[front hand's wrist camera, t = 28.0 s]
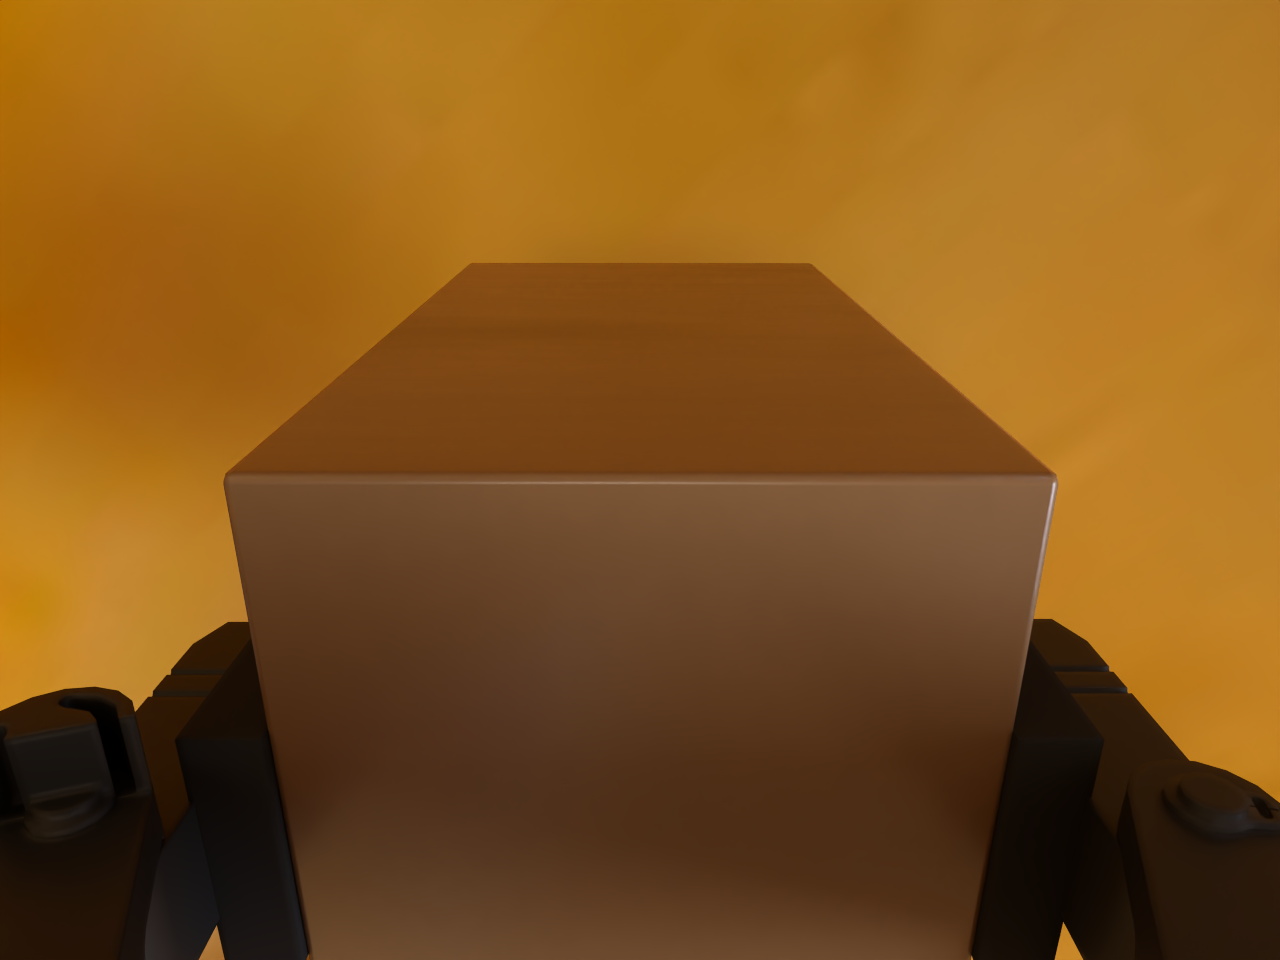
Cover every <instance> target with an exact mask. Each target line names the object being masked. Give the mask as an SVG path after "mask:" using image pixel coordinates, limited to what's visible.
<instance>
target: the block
mask: <svg viewBox="0 0 1280 960" xmlns="http://www.w3.org/2000/svg"><path fill="white" fill-rule="evenodd" d="M1057 488H1058V480H1057V476H1056V474H1055V473H1054V472H1053V471H1051V470H1050V469H1049V468H1048V467H1047V466H1046V465H1044V464H1043V463H1042V462H1041V461H1040V460H1039V459H1037V458H1036V457H1035V456H1034V455H1033V454H1032V453H1030V452H1029V451H1028V450H1027V449H1026V448H1025V447H1024V446H1022V445H1021V444H1020V443H1019V442H1018V441H1017V440H1015V439H1014V438H1013V437H1012V436H1011V435H1010V434H1008V433H1007V432H1006V431H1005V430H1004V429H1003V428H1001V427H1000V426H999V425H998V424H997V423H996V422H994V421H993V420H992V419H991V418H990V417H989V416H987V415H986V414H985V413H984V412H983V411H982V410H981V409H979V408H978V407H977V406H976V405H975V404H974V403H972V402H971V401H970V400H969V399H968V398H967V397H965V396H964V395H963V394H962V393H961V392H960V391H958V390H957V389H956V388H955V387H954V386H953V385H951V384H950V383H949V382H948V381H947V380H946V379H944V378H943V377H942V376H941V375H940V374H939V373H938V372H936V371H935V370H934V369H933V368H932V367H931V366H929V365H928V364H927V363H926V362H925V361H924V360H922V359H921V358H920V357H919V356H918V355H917V354H915V353H914V352H913V351H912V350H911V349H910V348H908V347H907V346H906V345H905V344H904V343H903V342H902V341H900V340H899V339H898V338H897V337H896V336H895V335H893V334H892V333H891V332H890V331H889V330H888V329H886V328H885V327H884V326H883V325H882V324H881V323H879V322H878V321H877V320H876V319H875V318H874V317H872V316H871V315H870V314H869V313H868V312H867V311H865V310H864V309H863V308H862V307H861V306H860V305H859V304H857V303H856V302H855V301H854V300H853V299H852V298H850V297H849V296H848V295H847V294H846V293H845V292H843V291H842V290H841V289H840V288H839V287H838V286H836V285H835V284H834V283H833V282H832V281H831V280H829V279H828V278H827V277H826V276H825V275H824V274H822V273H821V272H820V271H819V270H818V269H817V268H816V267H814V266H813V265H812V264H809V263H472V264H469V265H468V266H467V267H466V268H465V269H463V270H462V271H461V272H460V273H459V274H458V275H456V276H455V277H454V278H453V279H452V280H451V281H449V282H448V283H447V284H446V285H445V286H444V287H442V288H441V289H440V290H439V291H438V292H437V293H435V294H434V295H433V296H432V297H431V298H430V299H428V300H427V301H426V302H425V303H424V304H423V305H421V306H420V307H419V308H418V309H417V310H416V311H415V312H413V313H412V314H411V315H410V316H409V317H408V318H406V319H405V320H404V321H403V322H402V323H401V324H399V325H398V326H397V327H396V328H395V329H394V330H392V331H391V332H390V333H389V334H388V335H387V336H385V337H384V338H383V339H382V340H381V341H380V342H378V343H377V344H376V345H375V346H374V347H373V348H371V349H370V350H369V351H368V352H367V353H366V354H364V355H363V356H362V357H361V358H360V359H359V360H357V361H356V362H355V363H354V364H353V365H352V366H350V367H349V368H348V369H347V370H346V371H345V372H343V373H342V374H341V375H340V376H339V377H338V378H336V379H335V380H334V381H333V382H332V383H331V384H329V385H328V386H327V387H326V388H325V389H324V390H322V391H321V392H320V393H319V394H318V395H317V396H315V397H314V398H313V399H312V400H311V401H310V402H308V403H307V404H306V405H305V406H304V407H303V408H301V409H300V410H299V411H298V412H297V413H296V414H294V415H293V416H292V417H291V418H290V419H289V420H287V421H286V422H285V423H284V424H283V425H282V426H281V427H279V428H278V429H277V430H276V431H275V432H274V433H272V434H271V435H270V436H269V437H268V438H267V439H265V440H264V441H263V442H262V443H261V444H260V445H258V446H257V447H256V448H255V449H254V450H253V451H251V452H250V453H249V454H248V455H247V456H246V457H244V458H243V459H242V460H241V461H240V462H239V463H237V464H236V465H235V466H234V467H233V468H232V469H230V470H229V471H228V472H227V473H226V474H225V478H224V489H225V495H226V500H227V506H228V511H229V517H230V522H231V528H232V533H233V539H234V544H235V550H236V555H237V561H238V566H239V572H240V577H241V583H242V588H243V594H244V599H245V605H246V610H247V616H248V621H249V627H250V632H251V638H252V643H253V649H254V654H255V660H256V665H257V671H258V677H259V682H260V688H261V693H262V699H263V704H264V710H265V715H266V721H267V726H268V732H269V737H270V743H271V748H272V754H273V759H274V765H275V770H276V776H277V781H278V787H279V792H280V798H281V803H282V809H283V814H284V820H285V825H286V831H287V836H288V842H289V847H290V853H291V858H292V864H293V869H294V875H295V880H296V886H297V891H298V897H299V902H300V908H301V913H302V919H303V924H304V930H305V935H306V941H307V946H308V952H309V957H310V960H971V955H972V950H973V944H974V939H975V934H976V928H977V923H978V917H979V912H980V906H981V901H982V896H983V890H984V885H985V879H986V874H987V868H988V863H989V858H990V852H991V847H992V841H993V836H994V830H995V825H996V820H997V814H998V809H999V803H1000V798H1001V792H1002V787H1003V782H1004V776H1005V771H1006V765H1007V760H1008V754H1009V749H1010V744H1011V738H1012V733H1013V727H1014V722H1015V716H1016V711H1017V706H1018V700H1019V695H1020V689H1021V684H1022V678H1023V673H1024V667H1025V662H1026V657H1027V651H1028V646H1029V640H1030V635H1031V629H1032V624H1033V619H1034V613H1035V608H1036V602H1037V597H1038V591H1039V586H1040V581H1041V575H1042V570H1043V564H1044V559H1045V553H1046V548H1047V543H1048V537H1049V532H1050V526H1051V521H1052V515H1053V510H1054V505H1055V499H1056V494H1057Z"/></svg>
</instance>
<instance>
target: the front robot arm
mask: <svg viewBox="0 0 1280 960" xmlns="http://www.w3.org/2000/svg"><path fill="white" fill-rule="evenodd" d="M1063 922H1064V924H1065V926H1066V928H1067V929H1068V931H1069V933H1070V935H1071V937H1072V939H1073V941H1074V943H1075V945H1076V947H1077V948H1078V950H1079V952H1080V954H1081V956H1082V958H1083V960H1280V803H1279V802H1278V801H1276V800H1275V799H1274V798H1273V797H1271V796H1270V795H1269V794H1267V793H1266V792H1265V791H1263V790H1262V789H1261V788H1260V787H1258V786H1257V785H1255V784H1253V783H1251V782H1249V781H1247V780H1245V779H1243V778H1241V777H1239V776H1237V775H1235V774H1233V773H1231V772H1229V771H1226V770H1223V769H1220V768H1216V767H1213V766H1209V765H1206V764H1202V763H1199V762H1196V761H1189V760H1188V759H1187V757H1186V756H1185V755H1184V754H1183V753H1182V752H1181V750H1180V749H1179V748H1178V747H1177V746H1176V745H1175V743H1174V742H1173V741H1172V740H1171V739H1170V738H1169V736H1168V735H1167V734H1166V733H1165V732H1164V731H1163V729H1162V728H1161V727H1160V726H1159V725H1158V723H1157V722H1156V721H1155V720H1154V719H1153V718H1152V716H1151V715H1150V714H1149V713H1148V712H1147V711H1146V709H1145V708H1144V707H1143V706H1142V705H1141V704H1140V702H1139V701H1138V700H1137V699H1136V698H1135V697H1134V695H1133V694H1132V693H1127V687H1126V686H1125V685H1124V684H1123V683H1122V681H1121V680H1120V679H1119V678H1118V677H1117V675H1116V674H1115V673H1114V672H1109V666H1108V665H1107V664H1106V663H1105V661H1104V660H1103V659H1102V658H1101V657H1100V656H1099V654H1098V653H1097V652H1096V651H1095V650H1094V649H1093V647H1092V646H1091V645H1090V644H1089V643H1088V642H1087V641H1086V640H1085V639H1083V638H1081V637H1080V636H1078V635H1077V634H1075V633H1073V632H1072V631H1070V630H1069V629H1067V628H1065V627H1064V626H1062V625H1061V624H1059V623H1057V622H1056V621H1054V620H1052V619H1033V624H1032V629H1031V635H1030V640H1029V646H1028V651H1027V657H1026V662H1025V667H1024V673H1023V678H1022V684H1021V689H1020V695H1019V700H1018V706H1017V711H1016V716H1015V722H1014V727H1013V733H1012V738H1011V744H1010V749H1009V754H1008V760H1007V765H1006V771H1005V776H1004V782H1003V787H1002V792H1001V798H1000V803H999V809H998V814H997V820H996V825H995V830H994V836H993V841H992V847H991V852H990V858H989V863H988V868H987V874H986V879H985V885H984V890H983V896H982V901H981V906H980V912H979V917H978V923H977V928H976V934H975V939H974V944H973V950H972V957H973V960H1055V955H1056V951H1057V946H1058V942H1059V938H1060V933H1061V929H1062V925H1063ZM216 925H217V927H218V932H219V936H220V940H221V945H222V949H223V954H224V958H225V960H306V959H307V956H308V954H309V952H308V946H307V941H306V935H305V930H304V924H303V919H302V913H301V908H300V902H299V897H298V891H297V886H296V880H295V875H294V869H293V864H292V858H291V853H290V847H289V842H288V836H287V831H286V825H285V820H284V814H283V809H282V803H281V798H280V792H279V787H278V781H277V776H276V770H275V765H274V759H273V754H272V748H271V743H270V737H269V732H268V726H267V721H266V715H265V710H264V704H263V699H262V693H261V688H260V682H259V677H258V671H257V665H256V660H255V654H254V649H253V643H252V638H251V632H250V627H249V622H227V623H226V624H224V625H223V626H221V627H219V628H218V629H216V630H215V631H213V632H211V633H210V634H208V635H207V636H205V637H203V638H202V639H200V640H199V641H197V642H196V643H194V644H193V645H192V646H191V647H190V648H189V649H188V651H187V652H186V653H185V654H184V655H183V656H182V658H181V659H180V660H179V661H178V662H177V663H176V665H175V666H174V667H173V668H172V669H171V675H166V676H165V678H164V679H163V680H162V681H161V682H160V684H159V685H158V686H157V687H156V688H155V689H154V691H153V696H152V697H148V698H147V699H146V700H145V701H144V702H143V704H142V705H141V706H140V707H139V708H138V709H137V711H136V712H135V710H134V706H133V702H132V700H130V699H129V698H128V697H126V696H125V695H124V694H122V693H121V692H119V691H117V690H111V689H105V688H100V687H85V688H72V689H63V690H59V691H55V692H51V693H48V694H44V695H40V696H36V697H32V698H30V699H27V700H25V701H23V702H20V703H18V704H16V705H13V706H11V707H9V708H6V709H4V710H2V711H0V960H199V958H200V956H201V954H202V952H203V950H204V948H205V946H206V944H207V942H208V941H209V939H210V937H211V935H212V933H213V931H214V929H215V927H216Z"/></svg>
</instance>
